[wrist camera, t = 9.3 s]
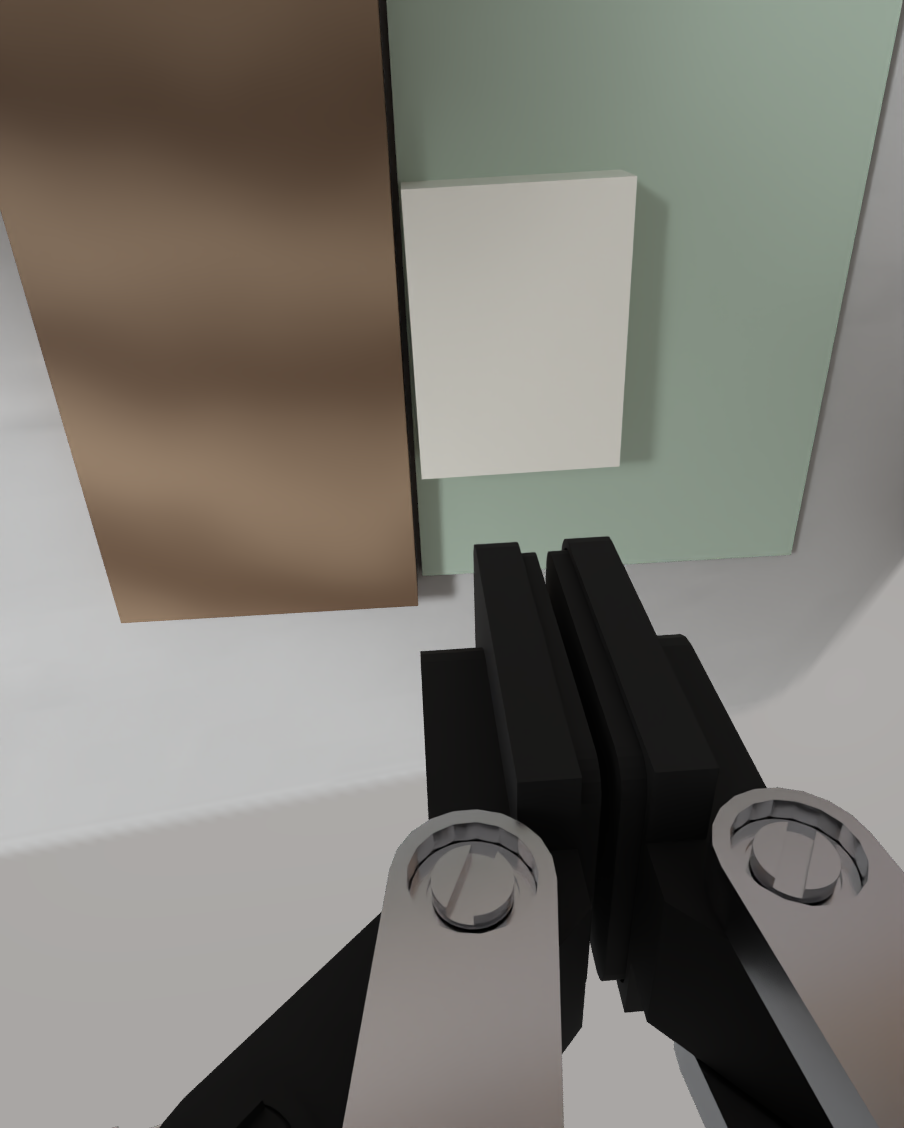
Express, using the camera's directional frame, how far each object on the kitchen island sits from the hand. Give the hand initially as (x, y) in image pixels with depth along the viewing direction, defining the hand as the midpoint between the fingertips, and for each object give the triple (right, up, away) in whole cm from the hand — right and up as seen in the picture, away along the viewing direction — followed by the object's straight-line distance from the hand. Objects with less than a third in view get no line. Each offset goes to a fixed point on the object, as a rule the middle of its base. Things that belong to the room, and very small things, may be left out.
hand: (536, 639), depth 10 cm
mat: (+4, +8, +14) cm, 17 cm away
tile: (+1, +8, +13) cm, 15 cm away
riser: (-8, +8, +14) cm, 18 cm away
